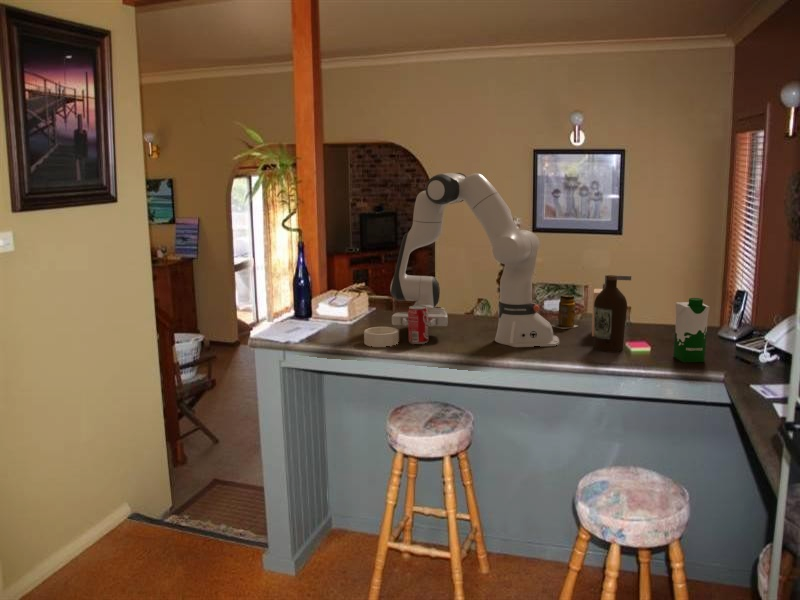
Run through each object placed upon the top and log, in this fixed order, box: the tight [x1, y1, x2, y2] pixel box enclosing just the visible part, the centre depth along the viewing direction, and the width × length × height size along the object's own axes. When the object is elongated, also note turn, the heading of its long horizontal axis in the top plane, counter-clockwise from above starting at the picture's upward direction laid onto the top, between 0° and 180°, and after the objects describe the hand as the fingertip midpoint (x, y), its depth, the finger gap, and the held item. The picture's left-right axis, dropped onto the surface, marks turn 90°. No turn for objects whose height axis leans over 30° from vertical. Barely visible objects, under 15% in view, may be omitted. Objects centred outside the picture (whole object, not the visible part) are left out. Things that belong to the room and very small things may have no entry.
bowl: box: [363, 326, 400, 348], centre depth 251 cm, size 12×12×4 cm
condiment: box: [551, 294, 578, 330], centre depth 273 cm, size 7×8×12 cm
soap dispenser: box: [591, 274, 632, 337], centre depth 257 cm, size 13×9×22 cm
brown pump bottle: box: [593, 274, 628, 353], centre depth 238 cm, size 11×11×25 cm
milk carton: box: [673, 297, 711, 363], centre depth 224 cm, size 9×9×20 cm
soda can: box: [407, 305, 430, 345], centre depth 250 cm, size 7×7×13 cm
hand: (418, 324), depth 249 cm, fingers open, 7 cm apart
